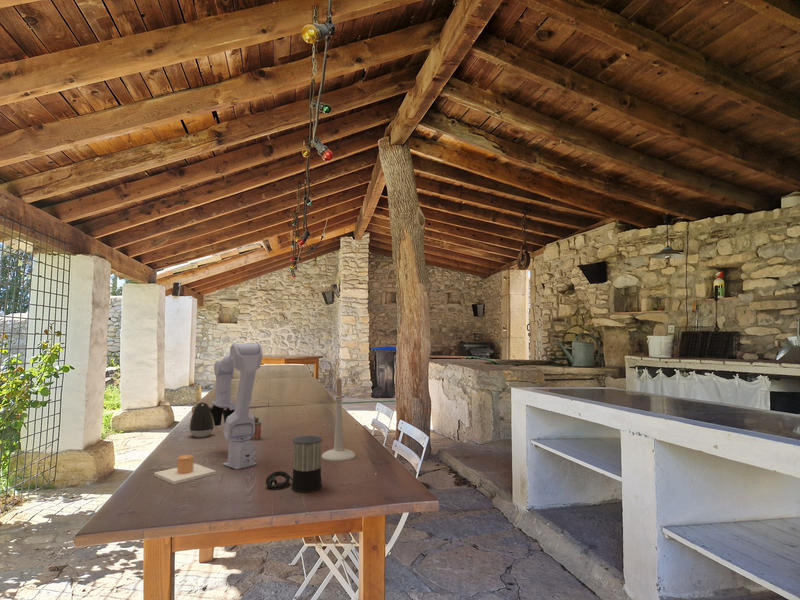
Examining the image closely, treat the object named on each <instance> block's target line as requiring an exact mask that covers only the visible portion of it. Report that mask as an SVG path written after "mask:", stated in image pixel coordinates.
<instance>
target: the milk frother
mask: <svg viewBox="0 0 800 600" xmlns="http://www.w3.org/2000/svg"><path fill="white" fill-rule="evenodd" d="M291 441H292V446H293V447H292V476H291V475H289V473H287V472H285V471H282V470H281V471H280V470H279V471H278V470H276V471H275V472H272V473H270V474H269V475H268V476H267V477H266V479H265V485H266V486H267V487H268V488H270V489H282V488H283V489H284V488H285V487H286V486H287V485H289V483H290V480H291V481H292V484H291V490H292V491H295V492H297V491H298V493H311V492H310V491H312V492H315V490H316V491H318V490H320V489H322V487H323V485H322V442H323V438H322V437H321V436H317V435H300V436H297V437H294V438H292V439H291ZM276 477H284V478H285V481H284V482H282V483H279V484H278V483H277V482H278V480H277V478H276Z"/></svg>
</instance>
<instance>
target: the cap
mask: <svg viewBox="0 0 800 600" xmlns="http://www.w3.org/2000/svg"><path fill="white" fill-rule="evenodd" d="M194 459H195V458H194V455H193V454H182V455H179V456H178V458H177V466H176V468H177V473H179V474H187V473H191V472H193V465H194V464H195V461H194Z"/></svg>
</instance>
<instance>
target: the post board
mask: <svg viewBox="0 0 800 600" xmlns="http://www.w3.org/2000/svg"><path fill="white" fill-rule="evenodd" d="M216 474H217V471H216V470H214V469H211V468H209V467H206V466H203V465H200V464H198V463H194V465H193V472H191V473H187V474H179V473H177V467H173V468H169V469H164V470H161V471H156V472H154V474H153V475H154V477H156V478H159V479H160V480H163V481H165V482H167V483H169V484H171V485H178V484H182V483H185V482H190V481H193V480H197V479H201V478H205V477H210V476H213V475H216Z"/></svg>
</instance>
